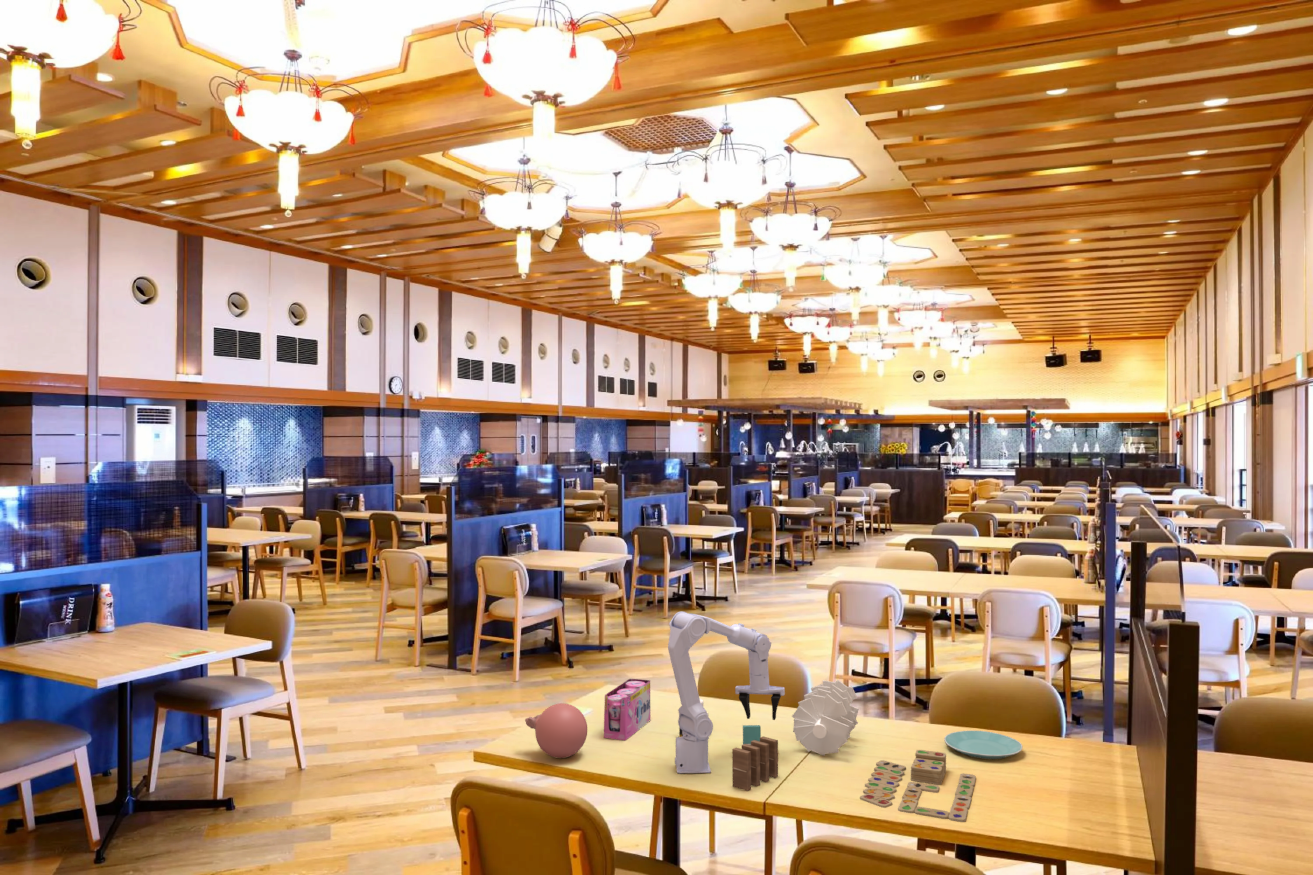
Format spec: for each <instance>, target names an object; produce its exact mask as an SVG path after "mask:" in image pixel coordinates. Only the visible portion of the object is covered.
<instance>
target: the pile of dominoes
mask: <svg viewBox="0 0 1313 875" xmlns="http://www.w3.org/2000/svg"><path fill="white" fill-rule="evenodd" d="M914 756H915V758H914V759H913V763H912V764H911V766H910V781H908V782H907V786H906V788H905V790H904V792H903V794H902V797H901V801H900V803H899V805H898V808H897V811H899V812H900V813H908V814H915V815H916V816H917V815H919V816H925V817H931V818H936V819H941V820H949V821H952V822H958V823H959V822H960V823H965V822H966V821H967V817H968V813H969V810H970V808H971V804H972V797H973V793H974V790H975V786H976V780H977V777H976V774H973V773H960V775H959V779H958V783H957V786H956V789H955V793H954V800H953V802H952V804H951V807H950V810H949V811H948V810H944V809H943V810H942V809H936V808H930V807H923V806H918V805H919V799H920V797H921V796H922V793H923V792H926V793H927V792H929V793H933V794H934V793H936V794H938V793H939V791H940V786H941V785H943V784H942V783H943V781H944V779H945V775H946V772H947V753H946V752H939V751H932V750H924V749H916V751H915V753H914ZM875 763H876V764H875V767H874V768H873V771H872V772H871V774H870V777H869V778H868V779H867V782H865V784H864V787H865V788H864V789H863V791H862V793H863V794H862V795H860V796H859V799H860V801H864V802H865V803H869V804H872V805H874V806H877V807H880V808H884V809H885V808H888V807H891V806H893V802H892V801H893V800H894V799H896V797H895V793H897V792H898V791H897V787H900V782H901V781H903V776H905V775H906V774H905V771H906V770H907V767H906V766H905V765H903V764H899V763H894V762H891V761H887V760H884V759H883V760H879V761H877V762H875Z"/></svg>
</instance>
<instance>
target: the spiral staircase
mask: <svg viewBox="0 0 1313 875" xmlns="http://www.w3.org/2000/svg"><path fill="white" fill-rule="evenodd" d="M810 690H811V692H808V693H806V694H804V695H803V696H804V699H803V700H801V701H798V702H797V704H798V707H797V708H796V710H795V711H794V712H793V714H792V715H791V717H792V718H793V728H792V733H794V736H795V739H796V741H798V742H800V744H801V745H802V746H803V747H804V748H805V750H806V751H807V752H809V753H810V752H811V751H812V752H813V753H817V754H818V755H821V756H823V757H825V756H826V754H836V753H839V752H840V750H839V749H840V748H841V747H842V746H844V745H845V744H846V743H847V742H848V739H849V738H851V735H850V734H851V732H852V731H853V730H854V729H855V728H856V725H857V724H858V723H859V722H858V721H857V717H858V713H859V707H857V706H856V707H855V706H853V705H851V704H852V703H853V702H854V700H856V699H858V696H857V694H856V691H855V690H854V687H853V686H851V685H850V686H847V685H846V684H844V683H843V682H842V681H840V680H839V679H837V680H836V682H835V681H830V680H829V681H828V680H824V679H823V680H822V683H821V684H818V685H815V686H813V687H811V688H810Z"/></svg>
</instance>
